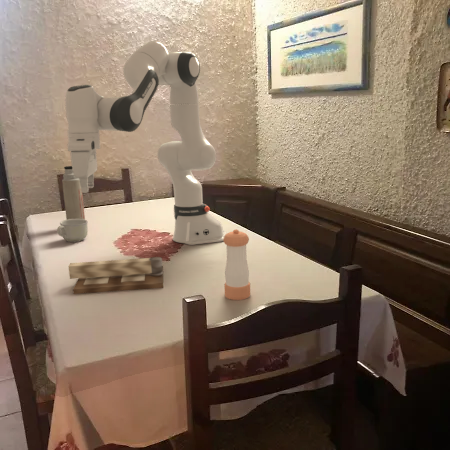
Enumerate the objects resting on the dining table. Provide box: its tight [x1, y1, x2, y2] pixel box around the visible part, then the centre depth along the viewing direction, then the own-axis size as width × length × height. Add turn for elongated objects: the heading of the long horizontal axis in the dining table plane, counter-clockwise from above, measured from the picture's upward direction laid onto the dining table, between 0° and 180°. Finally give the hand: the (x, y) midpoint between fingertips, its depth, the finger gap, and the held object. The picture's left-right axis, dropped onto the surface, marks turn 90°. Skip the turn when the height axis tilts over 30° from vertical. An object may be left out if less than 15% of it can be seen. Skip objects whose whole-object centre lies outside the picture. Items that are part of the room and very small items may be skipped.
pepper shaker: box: [222, 229, 251, 301], centre depth 134 cm, size 7×7×19 cm
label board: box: [72, 265, 164, 295], centre depth 150 cm, size 26×16×2 cm, turn 97°
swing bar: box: [68, 256, 164, 280], centre depth 149 cm, size 28×4×4 cm, turn 97°
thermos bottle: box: [61, 165, 86, 220], centre depth 215 cm, size 8×8×28 cm
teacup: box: [56, 219, 89, 243], centre depth 196 cm, size 14×11×8 cm
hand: (87, 190), depth 143 cm, fingers open, 8 cm apart
